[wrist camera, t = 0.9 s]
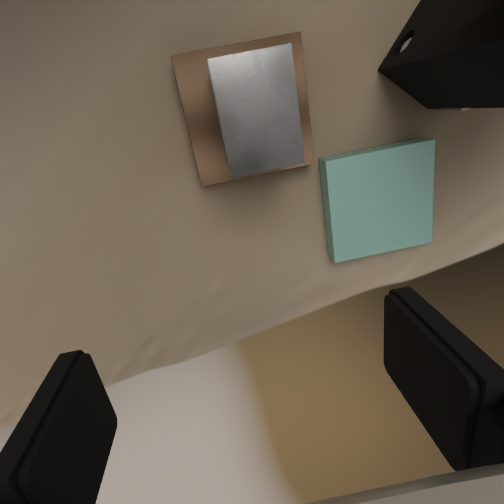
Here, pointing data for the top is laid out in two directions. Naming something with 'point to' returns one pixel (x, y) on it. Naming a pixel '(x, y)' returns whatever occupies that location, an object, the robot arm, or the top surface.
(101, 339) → the top surface
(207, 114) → the stand
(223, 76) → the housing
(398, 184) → the stand
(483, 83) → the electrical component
